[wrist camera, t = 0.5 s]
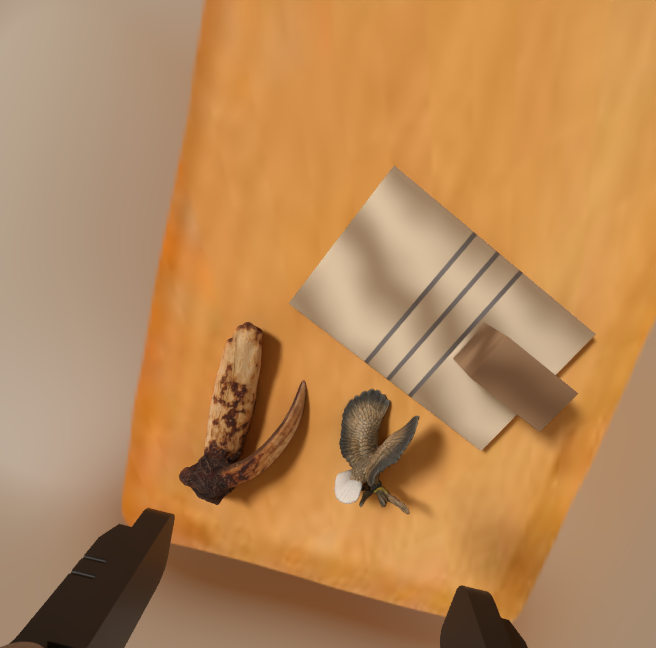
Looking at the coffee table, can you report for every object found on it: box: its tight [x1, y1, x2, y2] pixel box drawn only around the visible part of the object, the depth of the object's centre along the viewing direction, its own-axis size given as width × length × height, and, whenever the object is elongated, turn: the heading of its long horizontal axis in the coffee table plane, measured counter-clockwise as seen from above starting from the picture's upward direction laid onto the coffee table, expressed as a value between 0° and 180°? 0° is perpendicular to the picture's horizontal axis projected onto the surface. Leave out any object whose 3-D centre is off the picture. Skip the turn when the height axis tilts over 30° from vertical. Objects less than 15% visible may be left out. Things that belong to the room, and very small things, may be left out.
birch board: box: [289, 166, 595, 451], centre depth 33 cm, size 14×22×1 cm, turn 52°
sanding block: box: [452, 322, 578, 432], centre depth 31 cm, size 4×7×5 cm, turn 52°
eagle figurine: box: [334, 389, 419, 514], centre depth 34 cm, size 8×7×9 cm
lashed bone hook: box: [179, 322, 306, 505], centre depth 35 cm, size 9×5×18 cm
